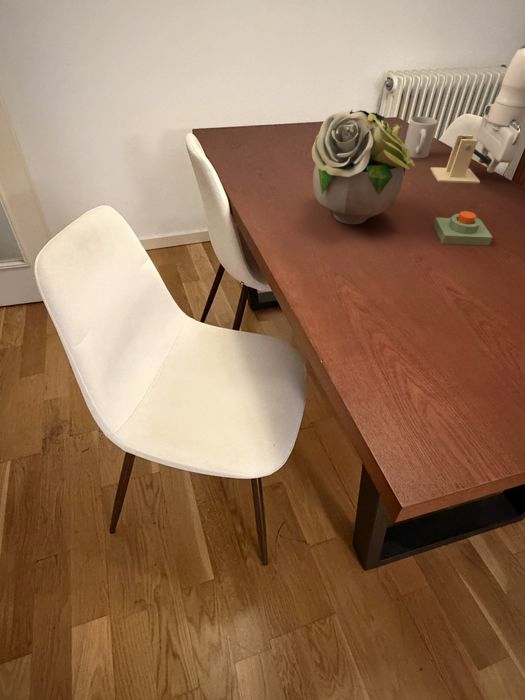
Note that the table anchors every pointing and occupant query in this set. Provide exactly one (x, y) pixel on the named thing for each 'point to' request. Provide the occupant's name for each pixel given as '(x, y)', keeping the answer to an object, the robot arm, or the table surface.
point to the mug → (420, 136)
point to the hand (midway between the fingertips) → (485, 166)
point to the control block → (461, 231)
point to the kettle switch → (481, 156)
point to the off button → (466, 217)
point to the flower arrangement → (358, 165)
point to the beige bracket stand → (458, 162)
